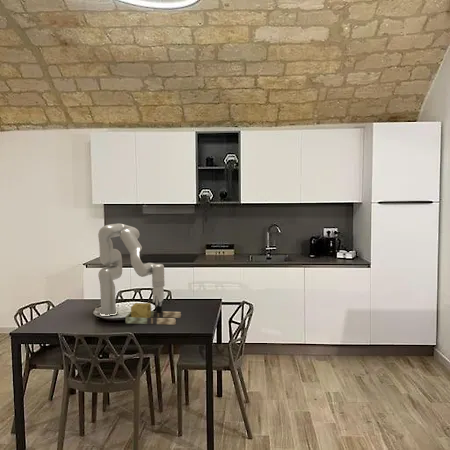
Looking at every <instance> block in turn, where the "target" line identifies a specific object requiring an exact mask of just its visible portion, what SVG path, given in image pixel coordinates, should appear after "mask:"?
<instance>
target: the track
mask: <svg viewBox="0 0 450 450" xmlns="http://www.w3.org/2000/svg"><path fill="white" fill-rule="evenodd" d="M181 313H182V311H162V312H161V313H156V310H155V311H154V310H151V318H137V317H131V311H130V312H129V313H128V314H126V315H125V324H137V325H138V324H139V325H143V324H144V325H169V326H170V325H173V326H174V325H177V322H176V321H177V320H176V318H177V319H181V318H182V317H181V316H182V314H181Z"/></svg>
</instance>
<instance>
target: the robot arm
mask: <svg viewBox="0 0 450 450" xmlns="http://www.w3.org/2000/svg"><path fill="white" fill-rule="evenodd" d="M97 235H98V236H97V237H98V243H99V244H98V247H99V261H100V264H102V265H104V266H105V265H106V266H105V267H102V268H101V269H100V270H99V271H98V281H99V286H100V287H99V288H100V307H95V309H94V311H95V312H100V313H101V314H105V315H108V314H109V315H110V314H115V313H116V311H117V310H116V309H117V307H116V306H117V305H116V303H117V302H116V300H117V299H116V286H115V282H114V280H117V279H120V278H121V277H122V276H123V275H122V274H123V257H122V253H121V251H119V249H117V248H114V244H113V241H112V239H111V238H116V237H120V239H121V241H122V242H123V244H124V246H125V248H126V250H127V251H128V252H129V256H130V264H131V267H132V269H133V270H134V271H135V273H136V274H137V275H138V276H139V277H143V278H144V277H147V276H150V275H151V284H152V303H153V304H154V303H155V311H156V313H161V312H163V310H162V309H163V307H162V304H163V301H164V299H165V296H164V295H165V293H164V287H165V266H164V264H162V263H154V262H147V263H143V261H142V260H141V256H140V253H141V251H142V249H143V246H142V245H141V243H140V241H139V240H138V239H139V238H140V235H141V234H140V231H139V229H138V228H136V227H134V226H131V225H127V224H125V223H124V224H123V223H111V224H106V225H104V226H102V227H101V228H100V229H99V231H98V234H97ZM107 265H108V266H107Z"/></svg>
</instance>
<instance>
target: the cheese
mask: <svg viewBox="0 0 450 450" xmlns="http://www.w3.org/2000/svg"><path fill="white" fill-rule="evenodd" d="M151 311H152V304H151V302H143V303H142V302H141V303H140V302H139V303H138V302H137V303H134V304H133V305H132V306H131V308H130V312H131V317H137V318H152V317H151Z"/></svg>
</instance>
